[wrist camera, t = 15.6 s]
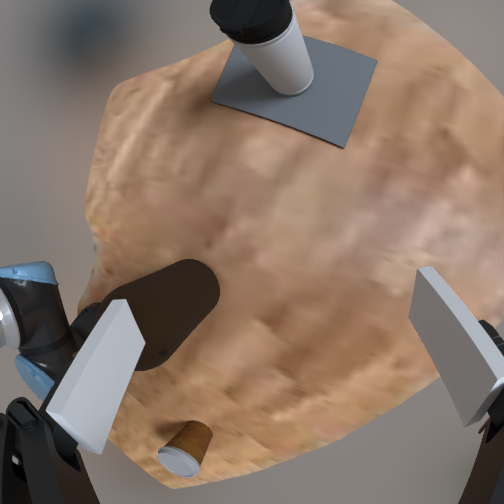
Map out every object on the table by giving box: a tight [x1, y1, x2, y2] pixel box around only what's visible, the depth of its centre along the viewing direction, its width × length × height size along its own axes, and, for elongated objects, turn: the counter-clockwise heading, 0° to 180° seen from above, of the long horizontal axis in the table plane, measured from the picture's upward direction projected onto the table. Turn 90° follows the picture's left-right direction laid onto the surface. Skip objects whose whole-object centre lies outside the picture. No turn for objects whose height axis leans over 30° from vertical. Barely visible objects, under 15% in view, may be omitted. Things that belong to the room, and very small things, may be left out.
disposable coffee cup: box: [157, 421, 213, 478], centre depth 50 cm, size 10×10×12 cm
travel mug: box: [210, 0, 314, 96], centre depth 25 cm, size 6×7×20 cm
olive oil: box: [72, 259, 220, 371], centre depth 35 cm, size 11×11×25 cm
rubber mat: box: [211, 35, 377, 148], centre depth 34 cm, size 20×14×1 cm
